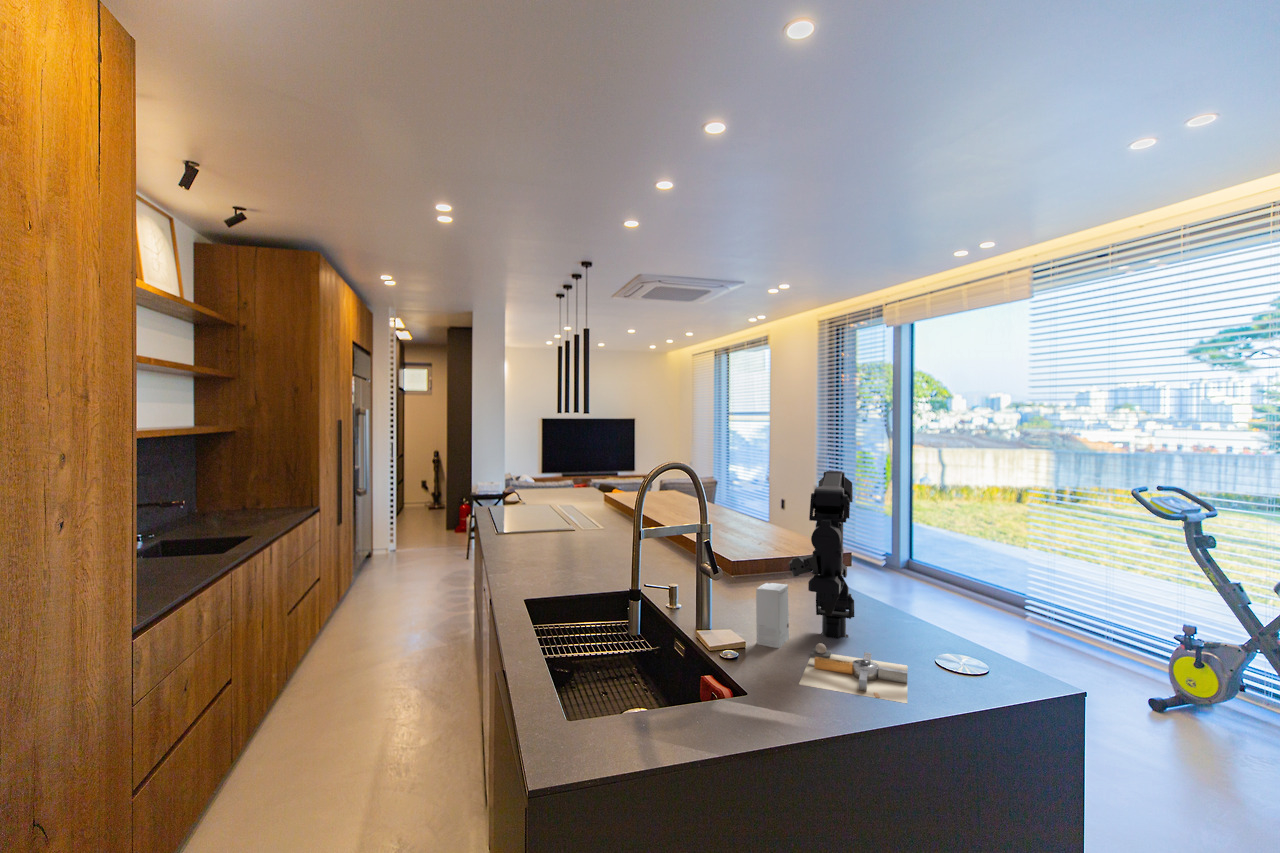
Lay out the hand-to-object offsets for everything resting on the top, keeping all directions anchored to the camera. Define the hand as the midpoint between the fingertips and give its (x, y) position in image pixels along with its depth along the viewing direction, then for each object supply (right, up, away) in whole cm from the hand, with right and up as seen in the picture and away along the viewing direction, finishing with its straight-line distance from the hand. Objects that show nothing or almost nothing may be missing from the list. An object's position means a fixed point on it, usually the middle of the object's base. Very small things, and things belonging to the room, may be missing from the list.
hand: (828, 615), depth 133 cm
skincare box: (-10, -12, +13) cm, 20 cm away
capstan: (+4, -10, -8) cm, 13 cm away
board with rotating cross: (+3, -12, -7) cm, 14 cm away
